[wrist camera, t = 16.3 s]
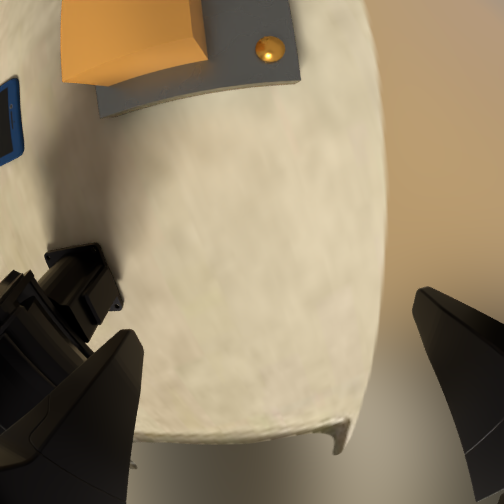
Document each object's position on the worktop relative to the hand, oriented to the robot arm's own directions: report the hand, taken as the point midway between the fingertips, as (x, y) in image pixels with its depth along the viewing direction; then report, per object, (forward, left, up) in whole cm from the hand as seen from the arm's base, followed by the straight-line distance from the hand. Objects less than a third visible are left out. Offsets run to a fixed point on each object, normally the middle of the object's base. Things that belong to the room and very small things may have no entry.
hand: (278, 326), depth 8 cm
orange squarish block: (-5, +13, -10) cm, 17 cm away
